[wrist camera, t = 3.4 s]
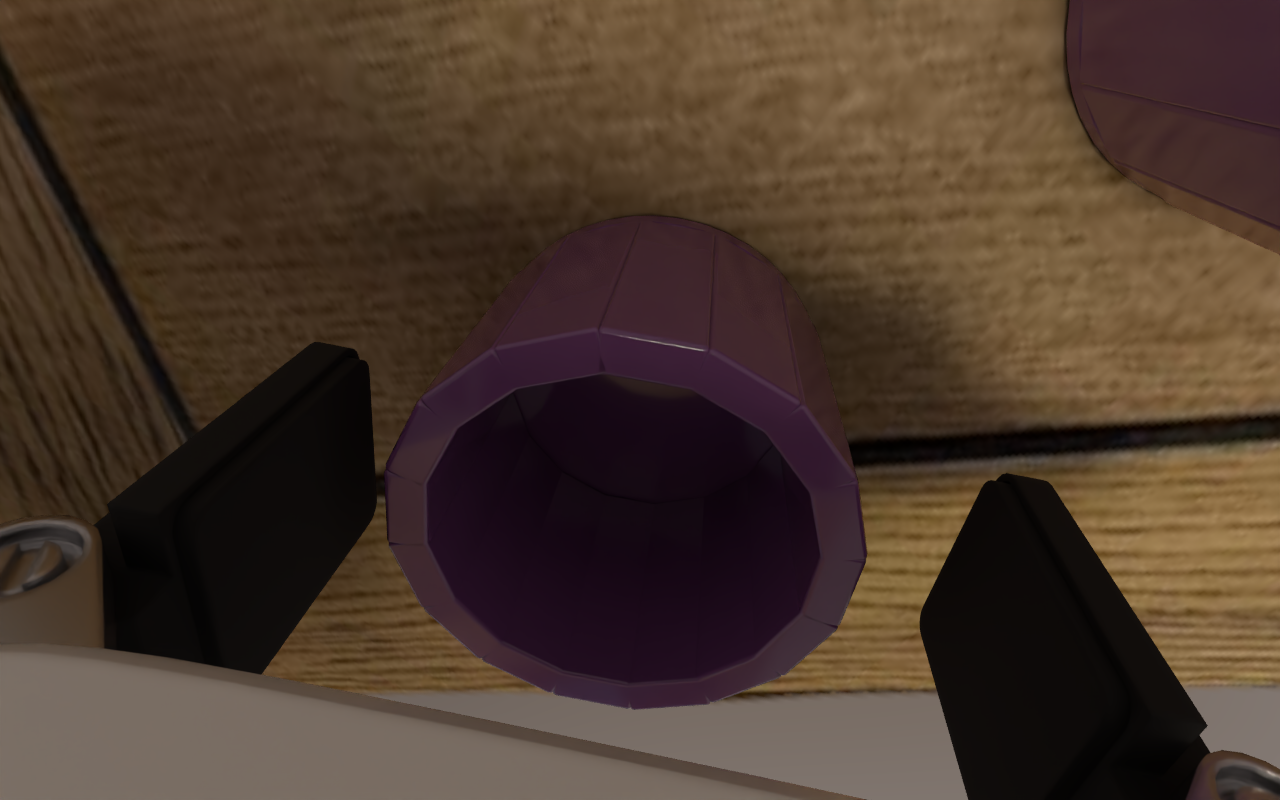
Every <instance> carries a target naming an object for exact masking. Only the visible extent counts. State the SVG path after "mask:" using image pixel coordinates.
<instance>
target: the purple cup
mask: <svg viewBox="0 0 1280 800" xmlns="http://www.w3.org/2000/svg"><path fill="white" fill-rule="evenodd" d="M384 481H385V501H386V521H387V539H388V541H389V547H390V549H391V551H392V553H393V555H394V557H395V559H396V560H397V562H398V564H399V566H400V568H401V570H402V572H403V573H404V575H405V577H406V579H407V581H408V583H409V585H410V586H411V588H412V590H413V592H414V594H415V596H416V598H417V600H418V601H419V603H420V605H421V606H422V607H424V609H425V611H426V612H427V613H428V614H429V615H430V616H432V617H433V618H434V619H435V620H436V621H437V622H438V623H439V624H440V625H442V626H443V627H444V628H445V629H446V630H447V631H448V632H449V633H450V634H452V635H453V636H454V637H455V638H456V639H457V640H458V641H459V642H461V643H462V644H463V645H464V646H465V647H466V648H467V649H468V650H469V651H471V652H472V653H473V654H474V655H475V656H476V657H478V658H482V660H483V661H484V662H486V663H488V664H490V665H492V666H494V667H496V668H498V669H500V670H503V671H505V672H507V673H509V674H511V675H513V676H515V677H517V678H519V679H521V680H523V681H526V682H528V683H530V684H532V685H534V686H536V687H538V688H540V689H542V690H544V691H547V692H553V693H554V694H555V695H558V696H564V697H569V698H574V699H580V700H585V701H590V702H595V703H600V704H606V705H611V706H616V707H621V708H626V709H628V708H630V707H631V708H632V709H634V710H635V709H651V708H665V707H679V706H693V705H708V704H710V702H716V701H719V700H722V699H724V698H727V697H730V696H732V695H735V694H738V693H740V692H743V691H745V690H748V689H751V688H753V687H756V686H759V685H761V684H764V683H767V682H769V681H772V680H775V679H777V678H779V677H780V676H781V675H786V674H787V673H788V672H789V671H790V670H791V669H793V668H794V667H795V666H796V665H797V664H798V663H799V662H801V661H802V660H803V659H804V658H805V657H806V656H807V655H809V654H810V653H811V652H812V651H813V650H814V649H815V648H816V647H818V646H819V645H820V644H821V643H822V642H823V641H824V640H826V639H827V638H828V637H829V636H830V635H831V634H832V633H834V632H835V631H836V630H837V628H838V625H839V624H840V623H841V620H842V618H843V616H844V613H845V611H846V608H847V606H848V604H849V601H850V599H851V596H852V594H853V592H854V589H855V587H856V584H857V582H858V580H859V577H860V575H861V572H862V570H863V568H864V565H865V563H866V557H867V554H868V553H867V545H866V537H865V529H864V521H863V513H862V505H861V497H860V489H859V482H858V478H857V475H856V471H855V467H854V464H853V460H852V457H851V453H850V449H849V446H848V442H847V438H846V435H845V431H844V427H843V424H842V420H841V417H840V413H839V409H838V406H837V402H836V398H835V395H834V391H833V387H832V384H831V380H830V376H829V373H828V369H827V366H826V362H825V358H824V355H823V351H822V347H821V344H820V340H819V336H818V334H817V331H816V328H815V326H814V325H813V323H812V322H811V320H810V318H809V316H808V313H807V311H806V309H805V307H804V305H803V303H802V302H801V300H800V298H799V296H798V295H797V293H796V291H795V290H794V289H793V287H792V286H791V285H790V284H789V282H788V281H787V280H786V278H785V277H784V276H783V274H782V273H780V272H779V271H778V270H777V269H776V268H775V267H774V266H773V265H772V264H771V263H770V262H769V261H768V260H767V259H766V258H765V257H763V256H762V255H761V254H759V253H758V252H757V251H755V250H754V249H753V248H751V247H750V246H749V245H747V244H745V243H744V242H742V241H740V240H738V239H736V238H735V237H733V236H731V235H729V234H727V233H725V232H723V231H720V230H717V229H715V228H712V227H710V226H707V225H705V224H701V223H697V222H693V221H689V220H685V219H681V218H672V217H663V216H630V217H624V218H617V219H611V220H606V221H603V222H600V223H596V224H593V225H589V226H586V227H584V228H582V229H579V230H577V231H575V232H573V233H571V234H568V235H566V236H564V237H563V238H561V239H560V240H558V241H557V242H555V243H553V244H552V245H550V246H549V247H547V248H546V249H545V250H544V251H542V252H541V253H540V254H539V255H538V256H537V257H535V258H534V259H533V260H532V261H531V262H530V263H529V264H528V265H527V266H526V267H525V268H524V269H523V270H522V271H520V272H519V273H517V274H516V275H515V277H514V278H513V279H512V280H511V281H510V282H509V284H508V285H507V286H506V288H505V289H504V290H503V291H502V293H501V294H500V295H499V297H498V298H497V299H496V301H495V302H494V303H493V304H492V306H491V307H490V308H489V310H488V311H487V312H486V313H485V315H484V316H483V317H482V319H481V320H480V321H479V322H478V324H477V325H476V326H475V328H474V329H473V330H472V331H471V333H470V334H469V335H468V337H467V338H466V339H465V340H464V342H463V343H462V344H461V346H460V347H459V348H458V349H457V351H456V352H455V353H454V355H453V356H452V357H451V358H450V360H449V361H448V362H447V364H446V365H445V366H444V367H443V369H442V370H441V371H440V373H439V374H438V375H437V376H436V378H435V379H434V380H433V382H432V383H431V384H430V386H429V387H428V388H427V389H426V391H425V392H424V393H423V395H422V396H421V397H420V398H419V400H418V401H417V402H416V404H415V406H414V408H413V410H412V412H411V415H410V417H409V419H408V421H407V423H406V425H405V427H404V429H403V431H402V433H401V435H400V437H399V439H398V441H397V443H396V445H395V447H394V449H393V451H392V453H391V455H390V457H389V459H388V461H387V463H386V470H385V472H384Z"/></svg>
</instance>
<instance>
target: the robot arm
mask: <svg viewBox="0 0 1280 800" xmlns="http://www.w3.org/2000/svg"><path fill="white" fill-rule="evenodd" d="M376 504H377V494H376V477H375V459H374V442H373V425H372V408H371V391H370V373H369V366H368V364H367V362H366V361H365V360H360V359H359V356H358V354H357V351H355V350H354V349H352V348H347V347H342V346H336V345H331V344H326V343H321V342H314V343H312V344H310V345H309V346H307V347H306V348H305V349H304V350H302V351H301V352H300V353H298V354H297V355H296V356H295V357H293V358H292V359H291V360H290V361H288V362H287V363H286V364H284V365H283V366H282V367H281V368H279V369H278V370H277V371H276V372H274V373H273V374H272V375H271V376H269V377H268V378H267V379H265V380H264V381H263V382H262V383H260V384H259V385H258V386H257V387H255V388H254V389H253V390H251V391H250V392H249V393H248V394H246V395H245V396H244V397H243V398H241V399H240V400H239V401H237V402H236V403H235V404H234V405H232V406H231V407H230V408H229V409H227V410H226V411H225V412H224V413H222V414H221V415H220V416H218V417H217V418H216V419H215V420H213V421H212V422H211V423H210V424H208V425H207V426H206V427H204V428H203V429H202V430H201V431H199V432H198V433H197V434H196V435H194V436H193V437H192V438H190V439H189V440H188V441H187V442H185V443H184V444H183V445H182V446H180V447H179V448H178V449H177V450H175V451H174V452H173V453H171V454H170V455H169V456H168V457H166V458H165V459H164V460H163V461H161V462H160V463H159V464H157V465H156V466H155V467H154V468H152V469H151V470H150V471H149V472H147V473H146V474H145V475H143V476H142V477H141V478H140V479H138V480H137V481H136V482H135V483H133V484H132V485H131V486H130V487H128V488H127V489H126V490H124V491H123V492H122V493H121V494H119V495H118V496H117V497H116V498H114V499H113V500H112V501H110V502H109V503H108V504H107V505H108V508H109V512H110V513H108V514H107V515H106V516H105V517H103V518H102V519H101V520H100V521H98V522H97V523H96V524H95V525H92V524H91V523H89V522H88V521H87V520H84V519H80V518H77V517H73V516H69V515H41V516H33V517H25V518H20V519H17V520H13V521H9V522H6V523H2V524H0V800H866V799H861V798H856V797H852V796H847V795H842V794H838V793H833V792H828V791H824V790H819V789H814V788H809V787H805V786H800V785H796V784H790V783H786V782H781V781H777V780H772V779H768V778H763V777H758V776H754V775H749V774H744V773H739V772H735V771H730V770H725V769H720V768H716V767H711V766H706V765H701V764H696V763H692V762H687V761H682V760H677V759H672V758H668V757H663V756H658V755H653V754H649V753H644V752H639V751H634V750H630V749H625V748H620V747H615V746H610V745H606V744H601V743H596V742H591V741H586V740H581V739H577V738H571V737H567V736H562V735H557V734H553V733H547V732H542V731H538V730H533V729H528V728H524V727H519V726H514V725H509V724H505V723H500V722H495V721H490V720H485V719H480V718H475V717H470V716H465V715H460V714H455V713H451V712H445V711H441V710H436V709H431V708H426V707H421V706H416V705H411V704H406V703H401V702H396V701H391V700H386V699H381V698H377V697H372V696H367V695H362V694H357V693H352V692H347V691H342V690H337V689H332V688H327V687H322V686H317V685H312V684H308V683H303V682H298V681H292V680H287V679H281V678H276V677H271V676H265V675H261V674H262V673H263V672H264V670H265V669H266V667H267V666H268V665H269V663H270V662H271V660H272V659H273V658H274V656H275V655H276V653H277V652H278V651H279V649H280V648H281V646H282V645H283V644H284V642H285V641H286V639H287V638H288V637H289V635H290V634H291V632H292V631H293V630H294V628H295V627H296V626H297V624H298V623H299V621H300V620H301V619H302V617H303V616H304V614H305V613H306V612H307V610H308V609H309V607H310V606H311V605H312V603H313V602H314V600H315V599H316V598H317V596H318V595H319V593H320V592H321V591H322V589H323V588H324V586H325V585H326V584H327V582H328V581H329V579H330V578H331V577H332V575H333V574H334V572H335V571H336V570H337V568H338V567H339V565H340V564H341V563H342V561H343V560H344V558H345V557H346V556H347V554H348V553H349V551H350V550H351V549H352V547H353V546H354V545H355V543H356V542H357V540H358V539H359V538H360V536H361V535H362V533H363V532H364V531H365V529H366V528H367V526H368V525H369V523H370V522H371V520H372V518H373V516H374V513H375V509H376ZM920 632H921V636H922V640H923V643H924V647H925V650H926V654H927V657H928V661H929V664H930V668H931V671H932V675H933V678H934V682H935V685H936V689H937V692H938V696H939V699H940V702H941V706H942V709H943V713H944V716H945V720H946V723H947V727H948V730H949V734H950V737H951V741H952V744H953V747H954V751H955V755H956V758H957V762H958V765H959V769H960V772H961V776H962V779H963V783H964V786H965V790H966V793H967V797H968V800H1280V769H1278V768H1277V767H1275V766H1273V765H1271V764H1269V763H1267V762H1266V761H1263V760H1260V759H1257V758H1255V757H1252V756H1249V755H1247V754H1244V753H1238V752H1232V751H1224V750H1221V751H1217V752H1213V753H1210V751H1209V750H1208V748H1207V747H1206V745H1205V744H1204V742H1203V740H1202V739H1201V737H1200V734H1201V733H1202V731H1203V730H1204V729H1205V728H1206V727H1207V724H1206V722H1205V721H1204V719H1203V718H1202V716H1201V715H1200V713H1199V712H1198V710H1197V708H1196V707H1195V706H1194V704H1193V702H1192V701H1191V699H1190V698H1189V696H1188V695H1187V693H1186V692H1185V690H1184V688H1183V687H1182V685H1181V684H1180V682H1179V681H1178V679H1177V678H1176V676H1175V675H1174V673H1173V671H1172V670H1171V668H1170V667H1169V665H1168V664H1167V662H1166V661H1165V659H1164V658H1163V656H1162V655H1161V653H1160V651H1159V650H1158V648H1157V647H1156V645H1155V644H1154V642H1153V641H1152V639H1151V638H1150V636H1149V634H1148V633H1147V631H1146V630H1145V628H1144V627H1143V625H1142V624H1141V622H1140V621H1139V619H1138V618H1137V616H1136V614H1135V613H1134V611H1133V610H1132V608H1131V607H1130V605H1129V604H1128V602H1127V601H1126V599H1125V597H1124V596H1123V594H1122V593H1121V591H1120V590H1119V588H1118V587H1117V585H1116V584H1115V582H1114V581H1113V579H1112V577H1111V576H1110V574H1109V573H1108V571H1107V570H1106V568H1105V567H1104V565H1103V564H1102V562H1101V560H1100V559H1099V557H1098V556H1097V554H1096V553H1095V551H1094V550H1093V548H1092V547H1091V545H1090V544H1089V542H1088V540H1087V539H1086V537H1085V536H1084V534H1083V533H1082V531H1081V530H1080V528H1079V527H1078V525H1077V523H1076V522H1075V520H1074V519H1073V517H1072V516H1071V514H1070V513H1069V511H1068V510H1067V508H1066V507H1065V505H1064V503H1063V502H1062V500H1061V499H1060V497H1059V496H1058V494H1057V493H1056V491H1055V490H1054V488H1053V486H1052V485H1051V484H1050V483H1049V482H1047V481H1044V480H1040V479H1034V478H1029V477H1024V476H1019V475H1013V474H1008V473H1006V474H1002V475H1001V476H1000V477H999V478H998V479H997V480H996V481H993V480H990V481H987V482H986V483H985V484H984V485H983V487H982V488H981V490H980V492H979V494H978V497H977V499H976V501H975V503H974V505H973V507H972V509H971V511H970V513H969V515H968V517H967V519H966V521H965V523H964V525H963V527H962V529H961V531H960V533H959V535H958V537H957V539H956V541H955V543H954V545H953V547H952V549H951V551H950V553H949V555H948V557H947V559H946V561H945V563H944V565H943V567H942V569H941V571H940V573H939V575H938V577H937V579H936V581H935V584H934V586H933V588H932V590H931V592H930V594H929V596H928V598H927V600H926V602H925V604H924V606H923V608H922V611H921V615H920Z"/></svg>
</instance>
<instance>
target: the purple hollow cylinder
mask: <svg viewBox="0 0 1280 800" xmlns="http://www.w3.org/2000/svg"><path fill="white" fill-rule="evenodd" d="M1066 39H1067V67H1068V72H1069V78H1070V84H1071V89H1072V94H1073V97H1074V100H1075V103H1076V106H1077V109H1078V112H1079V115H1080V118H1081V120H1082V122H1083V124H1084V126H1085V128H1086V129H1087V131H1088V133H1089V135H1090V137H1091V139H1092V141H1093V142H1094V144H1095V145H1096V146H1097V147H1098V149H1099V150H1100V151H1101V152H1102V154H1103V155H1104V156H1105V157H1106V159H1107V160H1108V161H1109V162H1110V163H1111V164H1112V165H1113V166H1114V167H1116V168H1117V169H1118V170H1119V171H1120V172H1121V173H1122V174H1123V175H1125V176H1126V177H1127V178H1128V179H1130V180H1132V181H1133V182H1135V183H1136V184H1138V185H1140V186H1141V187H1143V188H1145V189H1146V190H1148V191H1150V192H1152V193H1155V194H1156V195H1158V196H1159V197H1160V198H1162V199H1163V200H1164V201H1166V202H1167V203H1168V204H1170V205H1171V206H1174V207H1176V208H1178V209H1180V210H1182V211H1185V212H1187V213H1189V214H1191V215H1193V216H1196V217H1198V218H1200V219H1202V220H1204V221H1207V222H1209V223H1211V224H1213V225H1215V226H1217V227H1220V228H1222V229H1224V230H1226V231H1228V232H1231V233H1233V234H1235V235H1237V236H1239V237H1242V238H1244V239H1246V240H1248V241H1250V242H1253V243H1255V244H1257V245H1259V246H1261V247H1264V248H1266V249H1268V250H1270V251H1272V252H1275V253H1277V254H1279V255H1280V0H1070V3H1069V13H1068V24H1067V34H1066Z"/></svg>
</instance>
